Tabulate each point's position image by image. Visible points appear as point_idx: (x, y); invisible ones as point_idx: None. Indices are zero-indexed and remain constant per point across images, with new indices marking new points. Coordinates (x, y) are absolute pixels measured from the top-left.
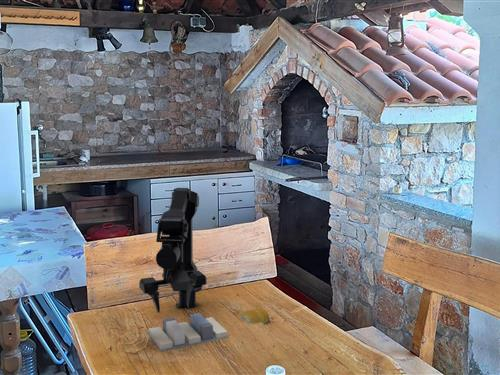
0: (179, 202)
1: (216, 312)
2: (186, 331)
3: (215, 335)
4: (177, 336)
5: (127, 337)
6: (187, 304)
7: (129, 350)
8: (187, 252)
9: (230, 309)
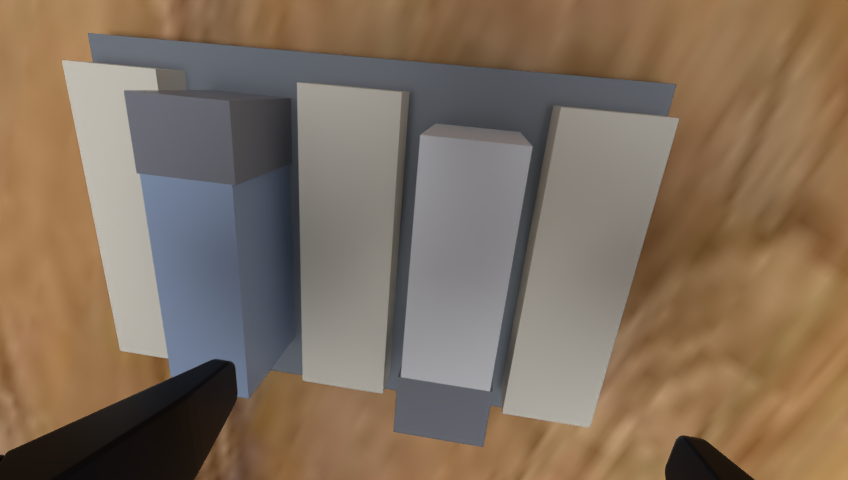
0: None
1: None
2: (362, 241)
3: None
4: (500, 136)
5: None
6: (217, 417)
7: (809, 281)
8: None
9: (17, 422)
